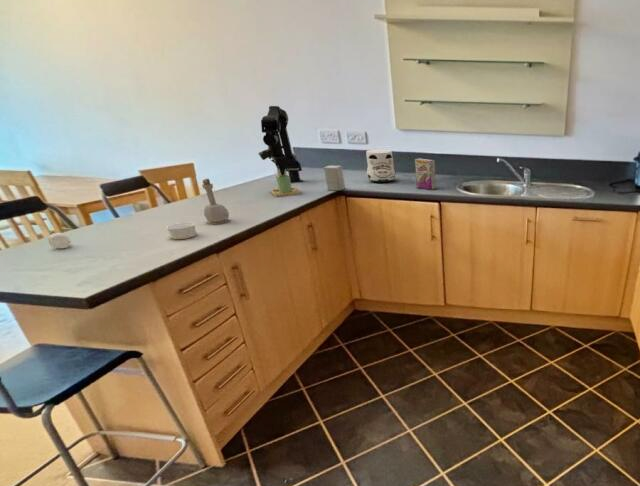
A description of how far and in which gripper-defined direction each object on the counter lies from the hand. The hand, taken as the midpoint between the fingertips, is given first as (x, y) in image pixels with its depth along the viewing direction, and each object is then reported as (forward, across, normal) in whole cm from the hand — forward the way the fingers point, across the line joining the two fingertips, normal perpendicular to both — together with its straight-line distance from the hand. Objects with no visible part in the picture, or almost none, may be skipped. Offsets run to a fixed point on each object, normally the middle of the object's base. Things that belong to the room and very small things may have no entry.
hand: (281, 174), depth 223 cm
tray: (+10, 0, 0) cm, 10 cm away
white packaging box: (+10, +4, +26) cm, 28 cm away
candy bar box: (+10, +28, +71) cm, 77 cm away
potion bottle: (+10, +42, -36) cm, 56 cm away
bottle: (+10, 0, 0) cm, 10 cm away
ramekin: (+10, +56, -49) cm, 75 cm away
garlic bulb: (+10, +48, -84) cm, 97 cm away
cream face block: (+10, -4, +57) cm, 58 cm away
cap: (0, 0, 0) cm, 0 cm away
